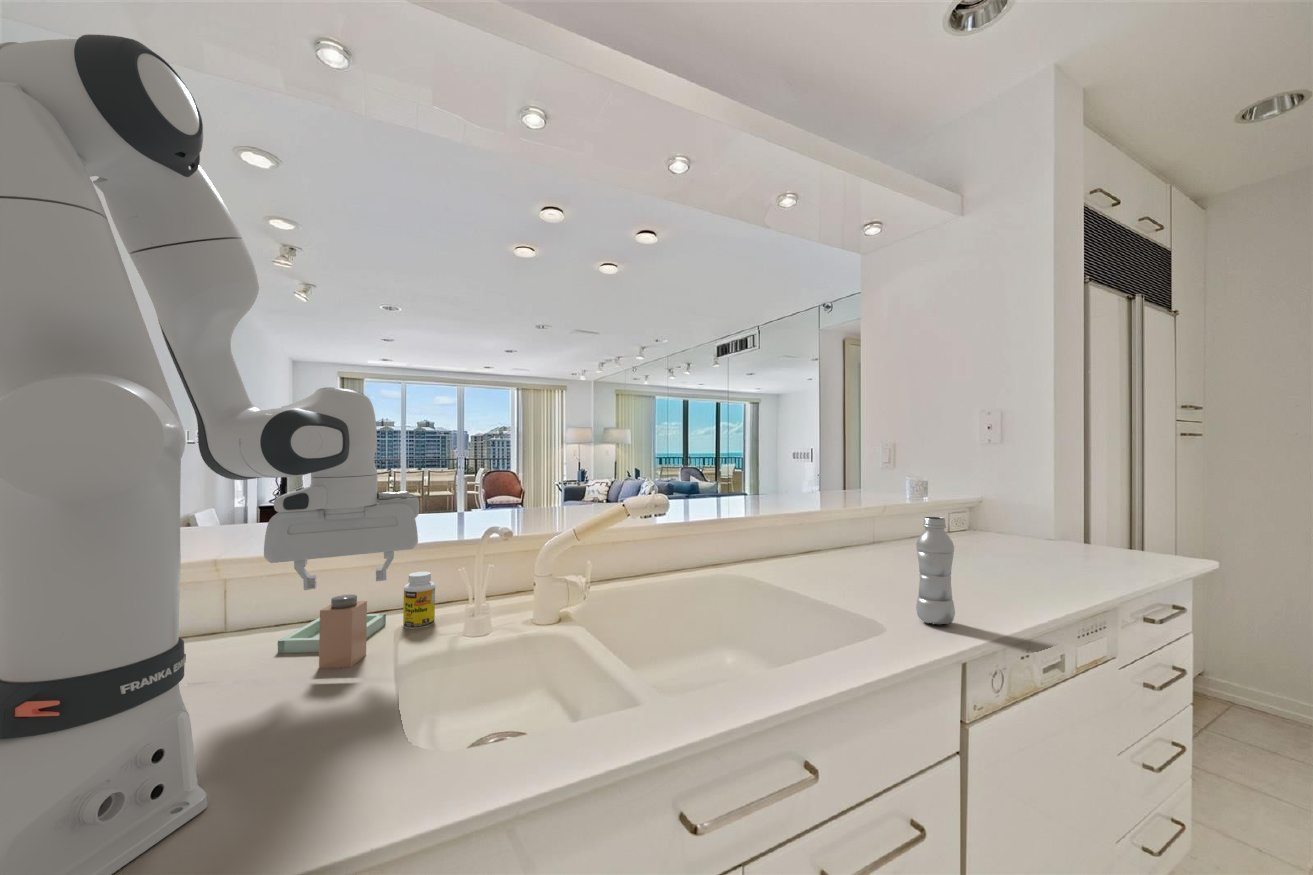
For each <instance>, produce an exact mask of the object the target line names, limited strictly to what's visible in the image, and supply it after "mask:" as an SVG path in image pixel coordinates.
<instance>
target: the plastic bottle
mask: <svg viewBox="0 0 1313 875" xmlns="http://www.w3.org/2000/svg"><path fill="white" fill-rule="evenodd" d="M923 528H924V530H923V532H922V533H921V534H920V535H919V537H918V538H917V541H916V544H915V546H916V553H917V555H916V556H917V561H918V569H919V570H918V572H919V582H918V583H919V585H918V596H917V600H916V606H915V608H916V615H917V617H918V619H919V620H920V619H921V620H922V621H921V620H920V621H921V622H923V621H924V623H927V624H929V623H934V624H948V625H950V624H949V623H951V624H952V623H953V622H954V620H955V617H956V616H955V615H956V610H955V608H956V607H955V603H954V600H953V592H952V570H953V569H952V566H953V560H954V552H955V546H954V542H953V540H952V539H951V537H950V536H949V535H948V534H947V533H946V531H945V529H946V528H947V525H946V518H945V517H939V516H924V517H923ZM934 624H933V625H934Z"/></svg>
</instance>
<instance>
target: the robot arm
mask: <svg viewBox="0 0 1313 875" xmlns="http://www.w3.org/2000/svg"><path fill="white" fill-rule="evenodd" d="M203 143H204V124H203V119H202V115H201V110H200V108H199V107H198V104H197V102H196V100H195V98H194V96H193V94H192V93H191V91H190V89H189V87H188V86H187V84H186V83H185V81H184V80H183V79H182V77H181V76H180V75H179V74H178V72H177V71H176V70H175V69H174V68H173V67H172V66H171V64H169V62H167V61H166V60H165V59H164V58H163V57H162V56H160V55H159V54H158V53H156V52H154V51H153V50H152V49H150V48H149V47H148V46H146V45H145V44H144V43H142V42H140V41H138V40H136V39H133V38H129V37H124V36H119V35H109V34H107V35H106V34H82V35H81V36H79V37H78V38H68V39H67V38H65V39H63V38H62V39H61V38H59V39H43V40H33V41H24V42H23V41H22V42H17V41H16V42H15V41H7V42H2V43H0V875H113V874H114V873H116V872H117V871H118V870H120V869H121V868H122V867H125V865H127V864H129V863H130V862H131V861H133V860H134V859H136V858H137V857H139V855H141V854H143V853H144V852H146V851H147V850H149V849H150V848H151V847H153V846H154V845H157V843H158V842H160V841H162V840H163V839H164V838H166V837H168V836H169V835H170V834H171V833H173V832H175V831H176V830H177V829H179V828H181V827H182V826H183V825H184V824H186V823H187V822H189V821H190V820H191V819H193V818H194V817H196V816H198V815H199V814H200V813H202V812H203V811H205V809H206V808H207V807H208V796H207V792H206V791H205V790H204V789H203V788H202V787H201V786H199V785H198V784H199V777H198V775H197V770H196V758H195V750H194V749H195V748H194V747H195V746H194V740H193V732H192V730H193V729H192V723H191V718H190V714H189V711H188V710H187V708H186V705H185V703H184V701H183V698H182V694H181V689H180V683H181V681H183V678H184V677H185V664H186V663H187V654H186V653H185V641H184V639H183V638H181V637H179V636H180V635H179V634H180V633H179V632H180V601H181V600H180V598H181V558H182V557H181V556H182V555H181V475H182V473H181V470H182V468H181V467H182V466H181V465H182V464H181V463H182V457H183V454H184V453H185V449H186V448H185V447H186V434H185V433H186V432H185V429H184V426H183V423H182V421H181V418H180V416H179V413H178V410H177V407H176V405H175V401H174V398H173V397H172V394H171V391H170V389H169V385H168V383H167V380H166V377H165V374H164V372H163V369H162V366H161V363H160V361H159V358H158V355H157V352H156V350H155V347H154V345H153V342H152V339H151V337H150V336H151V335H150V333H149V331H148V329H147V326H146V323H145V320H144V318H143V314H142V312H141V309H140V306H139V304H138V301H137V299H136V295H135V293H134V289H133V288H132V284H131V281H130V278H129V275H128V273H127V270H126V267H125V264H124V261H123V258H122V255H121V253H120V250H119V247H118V245H117V241H116V239H115V237H114V234H113V231H112V228H111V225H110V222H109V219H108V216H107V214H106V212H105V211H106V210H105V209H104V206H103V204H102V201H101V199H100V197H99V194H98V193H97V192H98V191H97V190H96V188H95V187H97V188H98V190H100V191H101V193H102V194H103V197H104V199H105V203H106V205H107V208H108V212H109V214H110V216H111V218H112V221H113V224H114V226H115V229H116V230H117V233H118V235H119V237H120V240H121V241H122V243H123V246H124V247H125V250H126V252H127V253H128V255H129V258H131V261H132V262H133V264H134V267H135V268H136V271H137V273H138V275H139V277H140V279H141V280H142V283H143V285H144V287H145V290H146V292H147V293H148V296H149V298H150V300H151V302H152V305H153V307H154V310H155V314H156V316H157V320H158V324H159V327H160V329H161V333H162V336H163V339H164V343H165V346H166V348H167V351H168V352H169V354H170V357H171V360H172V362H173V365H174V366H175V369H176V371H177V373H178V375H179V379H180V381H181V383H182V385H183V388H184V389H185V392H186V394H187V397H188V399H189V402H190V404H191V406H192V409H193V411H194V414H195V418H196V423H197V441H198V442H197V443H198V450H199V454H200V456H201V458H202V460H203V462H204V463H205V465H206V466H207V467H208V468H209V470H211V471H213V472H214V473H215V474H217V475H219V476H221V477H223V478H226V479H228V480H235V481H247V480H253V479H255V480H256V479H261V478H263V479H264V478H267V479H269V478H271V479H272V478H275V479H279V478H296V477H297V478H298V477H302V476H306V475H309V474H310V484H309V486H306V487H298V488H297V489H295V490H293V491H291V492H287V493H284V494H281V495H279V496H277V497H276V498H275V499H274V501H273V509H274V511H276V513H275V514H274V515H272V517H271V518H270V519H269V521H268V523H267V526H266V531H265V536H264V541H263V542H264V543H263V556H264V557H263V558H264V559H265V560H266V561H267V562H269V564H275V563H276V564H277V563H278V564H279V563H286V562H293V569H294V570H295V571H296V573H297V574H298V575H299V577H300V578H301V579H302V581H303V591H308V590H315V589H317V579H318V578H317V575H316V574H315V575H311V574H310V573H309V571H308V570H307V569H306V568H305V567H306V566H307V565H308V561H309V560H317V559H327V558H328V559H329V558H338V557H346V556H356V555H367V554H375V553H376V554H378V553H383V559H385V561H384V563H383V565H382V566H381V567H378V568H377V567H376V568H375V582H382V581H387V570H388V568H389V567H390V565H391V563H392V562H393V561H394V558H395V555H394V554H395V552H399V551H405V550H406V551H407V550H408V551H409V550H413V549H415V547H416V546H417V545H418V543H419V537H418V536H419V535H418V526H417V521H416V518H417V517H418V516H419V513H420V508H421V507H420V499H419V497H418V496H416V495H415V494H414V493H410V492H409V491H405V490H404V491H403V490H402V491H398V492H395V491H394V492H392V491H391V492H390V491H388V492H387V491H386V492H378V491H379V489H378V470H377V467H376V464H375V463H376V462H375V457H376V456H375V455H376V451H377V448H378V441H377V440H378V439H377V438H378V435H377V434H378V433H377V422H376V414H375V410H374V406H373V403H372V401H371V399H370V397H368V396H366V395H365V394H364V393H363V392H359V391H357V390H353V389H349V388H339V387H322V388H318V389H316V391H314V393H312V394H310V395H309V396H307V397H305V398H303V399H301V400H299V401H296V402H293V403H290V404H287V405H283V406H281V407H278V408H269V409H260V408H258V407H257V406H255V404H254V403H253V402H252V401H251V399H250V398H249V395H248V392H247V390H246V388H245V384H244V381H243V379H242V377H241V375H240V374H241V373H240V371H239V369H238V367H237V364H236V363H237V362H236V361H235V359H234V356H233V353H232V347H231V342H232V336H233V333H234V331H235V328H236V327H237V326H238V324H239V322H240V321H241V320H242V319H243V317H245V315H247V314H248V313H249V311H250V310H251V309H252V307H253V306H254V304H255V302H256V300H257V299H258V295H259V290H260V284H259V280H258V279H259V278H258V275H257V270H256V267H255V263H254V261H253V259H252V256H251V254H250V252H249V250H248V248H247V245H246V243H245V241H244V239H243V236H242V234H241V232H240V231H239V228H238V226H237V223H236V222H235V219H233V216H232V215H231V213H230V211H229V209H228V207H227V205H226V203H225V202H224V200H223V199H222V197H221V195H220V193H219V192H218V191H217V189H216V187H215V186H214V184H213V182H212V181H211V179H209V177H208V176H207V174H206V172H205V171H204V170H203V169H202V166H200V163H201V159H200V158H201V154H200V153H201V151H202V148H203V145H204V144H203ZM92 177H98V178H97V179H95V180H92V179H91V178H92ZM94 185H95V186H94Z"/></svg>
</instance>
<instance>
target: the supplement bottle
mask: <svg viewBox="0 0 1313 875" xmlns="http://www.w3.org/2000/svg"><path fill="white" fill-rule="evenodd" d="M402 610H403V616H402V619H403V620H402V623H403V624H402V626H403V627H404V628H405V629H421V628H426V627H429V626H431V625H434V624H435V619H436V616H435V614H436V613H435V612H436V584H435V582H433V581H432V573H431V572H430V571H415V572H412V573H409V574H408V583H406V584H405V585H404V587H403V609H402Z"/></svg>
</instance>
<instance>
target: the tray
mask: <svg viewBox="0 0 1313 875" xmlns="http://www.w3.org/2000/svg"><path fill="white" fill-rule="evenodd" d="M386 619H387V613H367V632H366V640H367V639H368V638H370V637H371V636H372V635H374V634H375V633H376V632H378V631H379V630H380V629H382V628H383V627H384V626H386V624H387V620H386ZM319 637H320V616H319V617H318V618H316V619H314V620H313V621H311V622H308V623H307V624H305V625H304V626H301V627H300V628H298V629H296V630H295V631H293V632H291V633H289V634H287V635H286V636H283V637H282V638H280V639H279V640H277V654H287V653H288V654H295V653H297V654H300V653H319Z"/></svg>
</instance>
